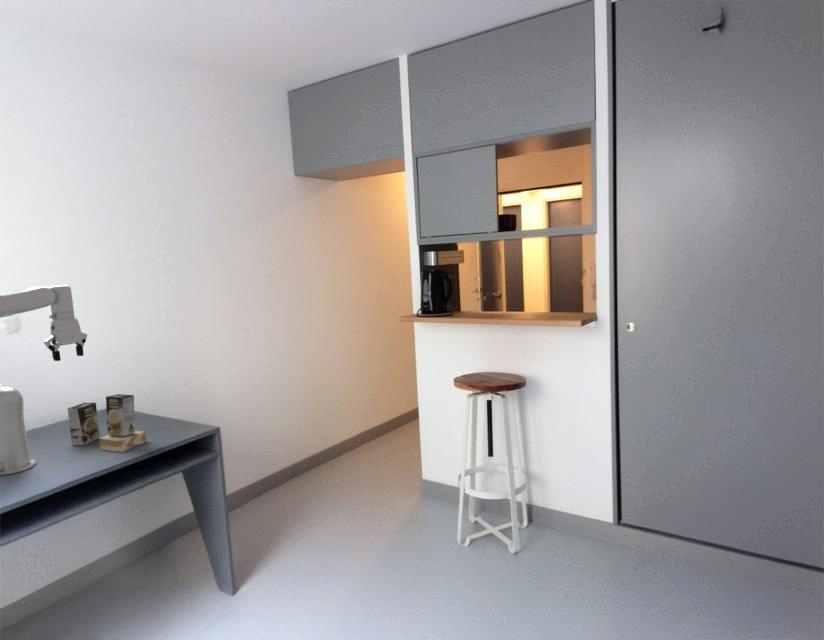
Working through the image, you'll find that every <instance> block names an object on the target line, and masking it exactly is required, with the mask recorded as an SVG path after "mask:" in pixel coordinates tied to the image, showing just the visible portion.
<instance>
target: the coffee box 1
mask: <svg viewBox="0 0 824 640" xmlns="http://www.w3.org/2000/svg"><path fill="white" fill-rule="evenodd" d="M67 413H68V414H67V415H68V421H69V422H68V423H69V431H70V437H71V438H70V439H71V445H72V446H86V445H88V444H90V443H93V442H95V441H96V440H99V438H101V433H100V426H99V425H100V424H99V417H98V409H97V402H82V403H79V404H77V405H74V406H70V407H67Z"/></svg>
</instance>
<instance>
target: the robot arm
mask: <svg viewBox="0 0 824 640" xmlns="http://www.w3.org/2000/svg"><path fill="white" fill-rule="evenodd" d="M49 306H50V311H51V314H49V316H48V317H49V319H52V320H51V321H50V337H48V338H46V339H45V340H44V341H43V344H44V345H45V346H46V349H48V350H49V351H50V352H51V353H52V360H53V361H55V362H60V361H61V359H62V358H61V353H60V350H59V349H60V347H61V346H68V345H73V344H75V353H76V356H78V357H82V356H84V347H83V346H85V343H86V342H87V338H88V334H87V333H84V332H82V329H81V326H80V323H79V320H78V318H77V317H75V311H74V309H75V308H74V301H73V293H72V288H71V286H69V285H68V284H60V285H59V284H58V285H57V284H56V285H51V286H39V285H38V286H30V287H28V288H26V289H25V290H24V291H19V292H14V293H8V294H0V319H2V318H7V317H11V316H15V315H19V314H24V313H28V312H32V311H35V310H39V309H42V308H46V307H49ZM24 415H25V414H24V398H23V395H22V394H21V392H20V391H19V390H18V389H16V388H14V387H11V386H10V385H9V386H8V385H6V384H3V383H1V382H0V476H1V475H2V476H5V475H6V476H7V475H13V474H16V473H21V472H24V471H27V470H29V469H31V468H33V467H34V466H35V465H36V464H37V463H36V460H35V459H33V458H30V450H29V443H28V436H27V430H26V423H25V417H24Z"/></svg>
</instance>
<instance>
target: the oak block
mask: <svg viewBox="0 0 824 640" xmlns="http://www.w3.org/2000/svg"><path fill="white" fill-rule="evenodd" d="M98 441H99V448H100V450H103V451H109V450H110V451H111V452H116V453H123V452H125V450H126V451H127V449H128V450H130V449H132V447H133V448H135V447H137V446H136V445H138V446H139V444H140V445H142V444H145V443H147V436H146V431H145V430H136V429H135V433H133V434H129V435H126V436H114V435H108V434H107V435H105V436H101V437H100V438H99V439H98ZM144 442H145V443H144ZM141 443H142V444H141ZM134 446H135V447H134ZM129 448H130V449H129Z"/></svg>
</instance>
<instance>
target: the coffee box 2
mask: <svg viewBox="0 0 824 640" xmlns="http://www.w3.org/2000/svg"><path fill="white" fill-rule="evenodd" d="M105 402H106V403H105V406H106V407H105V408H106V427H107V428H106V432H107V435H114V436H126V435H129V434H133V433H135V430H136V425H135V424H136V423H135V422H136V421H135V419H136V418H135V396H134V394H122V393H121V394H113V395H108V396H106V397H105Z"/></svg>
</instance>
